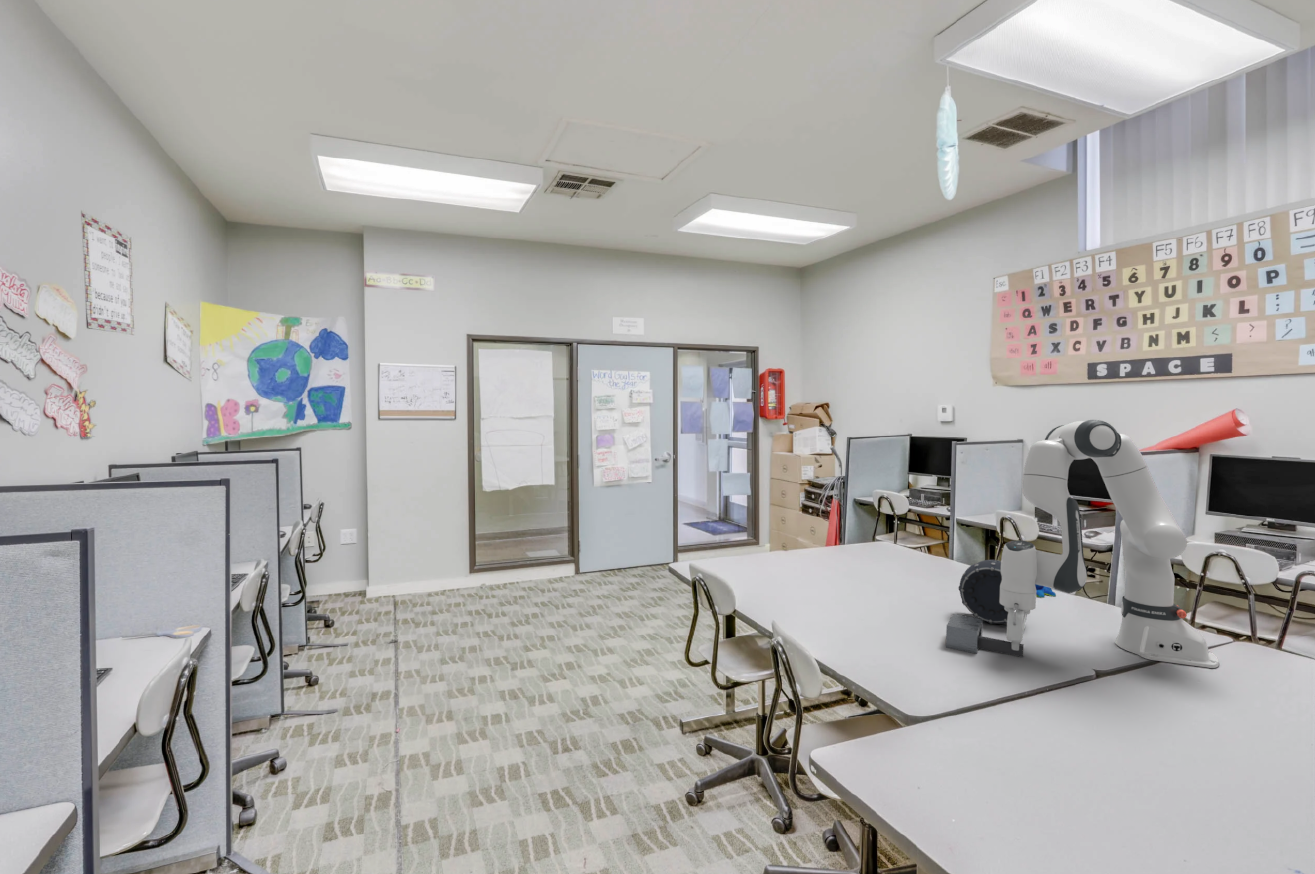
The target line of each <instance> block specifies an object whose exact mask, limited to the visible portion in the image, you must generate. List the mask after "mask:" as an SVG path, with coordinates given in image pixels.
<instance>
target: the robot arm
mask: <svg viewBox="0 0 1315 874" xmlns="http://www.w3.org/2000/svg"><path fill="white" fill-rule="evenodd" d="M1086 459H1092V460H1093V462H1094V463H1095V464H1096V465H1097V468H1098V470H1099V473H1100V476H1101V478H1102V481H1103V483H1104V484H1105V488H1106V490H1107V492H1108V495H1109V497H1110V499H1111V502H1112V503H1113V505H1114V506H1115V508H1116V510H1117V511H1118V513H1119V514H1120V516H1121V518H1122V520H1121V521H1120V523H1119V524H1120V525H1119V530H1120V534H1121V535H1120V536H1121V546H1122V555H1123V561H1124V593H1123V594H1124V595H1123V596H1122V599H1121V607H1120V609H1121V611H1120V613H1121V617H1122V618H1121V623H1120V629H1119V632H1118V634H1117V637H1116V640H1115V642H1114V643H1115V644H1116V646H1118V647H1119V648H1121V649H1122V650H1125V651H1128V652H1130V653H1132V654H1135V655H1138V656H1140V657H1142V658H1143V659H1146V660H1149V661H1150V660H1151V661H1155V662H1156V661H1159V662H1166V663H1173V664H1179V665H1186V666H1196V667H1201V668H1210V669H1215V668H1218V667H1219V666H1220V664H1219V663H1220V662H1219V658H1218V657H1217V655H1216V654H1214V653H1213V652H1212V651H1210V650H1209V646H1208V642H1207V640H1206V638H1205V636H1204V635H1203V634H1202V633H1201V632H1200V631H1198V630H1197V629H1196V628H1194V627H1193V626H1192V625H1190V624H1189V623H1188V622H1187V621H1185V620H1184V619H1185V618H1187V615H1188V614H1187V613H1186V610H1183V608H1182V607H1180V606H1179V605H1178V604H1175V603H1174V600H1175V599H1174V598H1175V581H1176V580H1175V575H1174V571H1173V569H1172V563H1171V559H1174V558H1178V557H1179V556H1180V555H1182V554H1183V553H1185V550H1186V549H1187V545H1188V542H1187V541H1188V540H1187V537H1186V535H1185V533H1184V532H1183V529H1181V527H1180V526H1179V524H1178V522H1177V520H1176V519H1175V516H1174V515H1173V512H1172V511H1171V510H1170V508H1169V506H1168V505H1167V503H1166V501H1165V500H1164V498H1163V497H1162V495H1161V493H1160V491H1159V490H1158V487H1157V485H1156V483H1155V481H1154V478H1153V475H1152V474H1151V471H1150V469H1149V467H1148V465H1147V462H1146V461H1145V460H1146V459H1145V458H1144V456H1143V455H1142V453H1141V451H1140V450H1139V447H1138V446H1137V445H1136V443H1135V442H1134V441H1133V439H1132V438H1131V437H1130V436H1129V435H1128V434H1124V433H1119V432H1118V431H1117V430H1116V428H1114V426H1113V425H1111V423H1108V422H1107V421H1104V420H1100V419H1099V420H1098V419H1088V420H1077V421H1073V422H1070V423H1067V424H1062V425H1058V426H1056V427H1055V428H1052V429H1051V430H1050V431H1049V432H1048V433H1047V435H1046V436H1045V438H1044V439H1043V440H1038V441H1036V442H1034V443H1033V444H1032V445H1031V446H1030V448H1029V450H1028V453H1027V456H1026V459H1025V464H1024V468H1023V474H1022V479H1021V480H1022V482H1021V490H1022V494H1023V496H1024V497H1025V499H1026V501H1028V502H1029V503H1030V504H1031V505H1033V506H1035V507H1036V508H1038V509H1039V510H1042V511H1044V512H1046V513H1048V514H1050V515H1052V516H1053V517H1054V518H1055V519H1056V520H1057V521H1058V522H1059V524H1060V529H1061V542H1062V543H1061V544H1062V554H1059V553H1052V552H1046V551H1042V550H1038V549H1036V546H1035V544H1034V543H1032V542H1030V541H1027V540H1020V539H1019V540H1010V541H1008V542H1005V544H1004V546H1003V549H1002V553H1001V560H1000V561H1001V575H1002V581H1001V584H1000V599H999V602H1000V604H1001V605H1003V606H1004V609H1005V610H1006V611H1007V612H1008V616H1007V623H1006V641H1009V642H1012V649H1013V650H1016V651H1018V650H1019V643H1020V644H1022V643H1023V638H1024V637H1023V636H1024V632H1025V626H1026V622H1027V617H1028V615H1030V614H1031V611H1032V610H1036V608H1037V597H1036V587H1035V584H1037V585H1041V586H1045V587H1050V588H1051V589H1055V590H1057V591H1060V592H1062V593H1063V592H1064V593H1067V594H1074V593H1075V592H1078V591H1079V590H1081V589H1084V587H1085V585H1086V583H1087V578H1088V577H1087V567H1086V561H1085V554H1084V546H1083V545H1084V544H1083V543H1084V542H1083V533H1082V529H1083V528H1082V519H1081V512H1080V506H1079V503H1078V502H1077V500H1076V499H1074V498H1073V497H1072V496H1071V494H1070V492H1069V489H1068V479H1069V470H1070V467H1071V464H1072V463H1073V462H1074V460H1075V461H1076V460H1086Z"/></svg>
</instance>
